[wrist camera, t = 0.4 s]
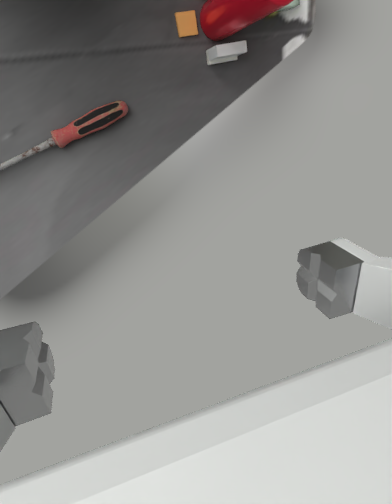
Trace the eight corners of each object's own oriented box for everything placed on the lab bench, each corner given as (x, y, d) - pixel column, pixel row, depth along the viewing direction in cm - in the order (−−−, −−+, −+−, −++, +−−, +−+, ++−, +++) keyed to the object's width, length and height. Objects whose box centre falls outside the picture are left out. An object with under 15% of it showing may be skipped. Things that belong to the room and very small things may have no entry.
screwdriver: (-22, 190, 46) (-27, 194, 43) (-37, 171, 44) (-43, 174, 42) (130, 115, 49) (133, 114, 47) (120, 95, 48) (123, 94, 45)
